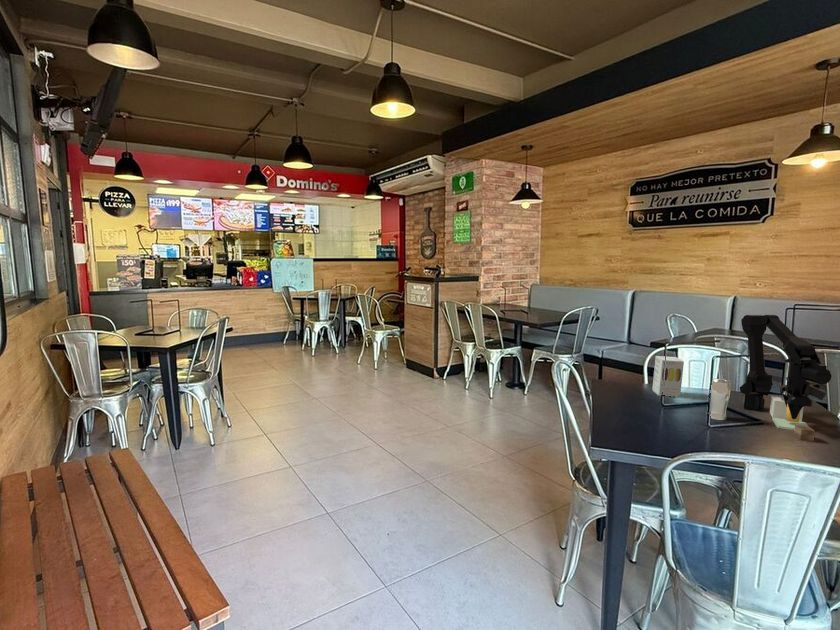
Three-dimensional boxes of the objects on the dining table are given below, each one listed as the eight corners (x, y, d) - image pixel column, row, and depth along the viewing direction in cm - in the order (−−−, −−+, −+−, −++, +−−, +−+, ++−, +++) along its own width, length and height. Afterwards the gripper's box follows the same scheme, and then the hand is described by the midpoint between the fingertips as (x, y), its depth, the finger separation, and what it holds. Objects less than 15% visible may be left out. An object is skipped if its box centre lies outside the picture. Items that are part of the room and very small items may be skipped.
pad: (777, 427, 170) (777, 425, 170) (772, 419, 179) (772, 417, 179) (811, 433, 165) (812, 431, 165) (804, 424, 174) (805, 422, 174)
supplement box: (658, 396, 207) (661, 359, 204) (651, 390, 216) (654, 355, 213) (681, 397, 205) (684, 361, 203) (673, 391, 214) (676, 356, 212)
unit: (772, 417, 181) (774, 399, 180) (769, 412, 187) (771, 394, 186) (802, 422, 176) (805, 403, 175) (798, 416, 182) (800, 398, 181)
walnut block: (800, 440, 159) (801, 429, 158) (793, 436, 163) (795, 425, 162) (813, 441, 158) (814, 430, 157) (806, 437, 162) (808, 426, 161)
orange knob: (786, 421, 171) (788, 405, 170) (784, 417, 175) (786, 402, 174) (800, 423, 169) (802, 407, 168) (797, 419, 173) (799, 404, 172)
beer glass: (725, 416, 182) (729, 379, 180) (729, 422, 175) (733, 384, 173) (705, 413, 185) (709, 377, 183) (708, 419, 178) (711, 381, 176)
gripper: (833, 386, 158) (827, 429, 160) (818, 374, 174) (813, 413, 176) (793, 381, 163) (787, 423, 165) (782, 370, 179) (777, 408, 181)
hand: (792, 417), depth 172 cm, fingers open, 4 cm apart
